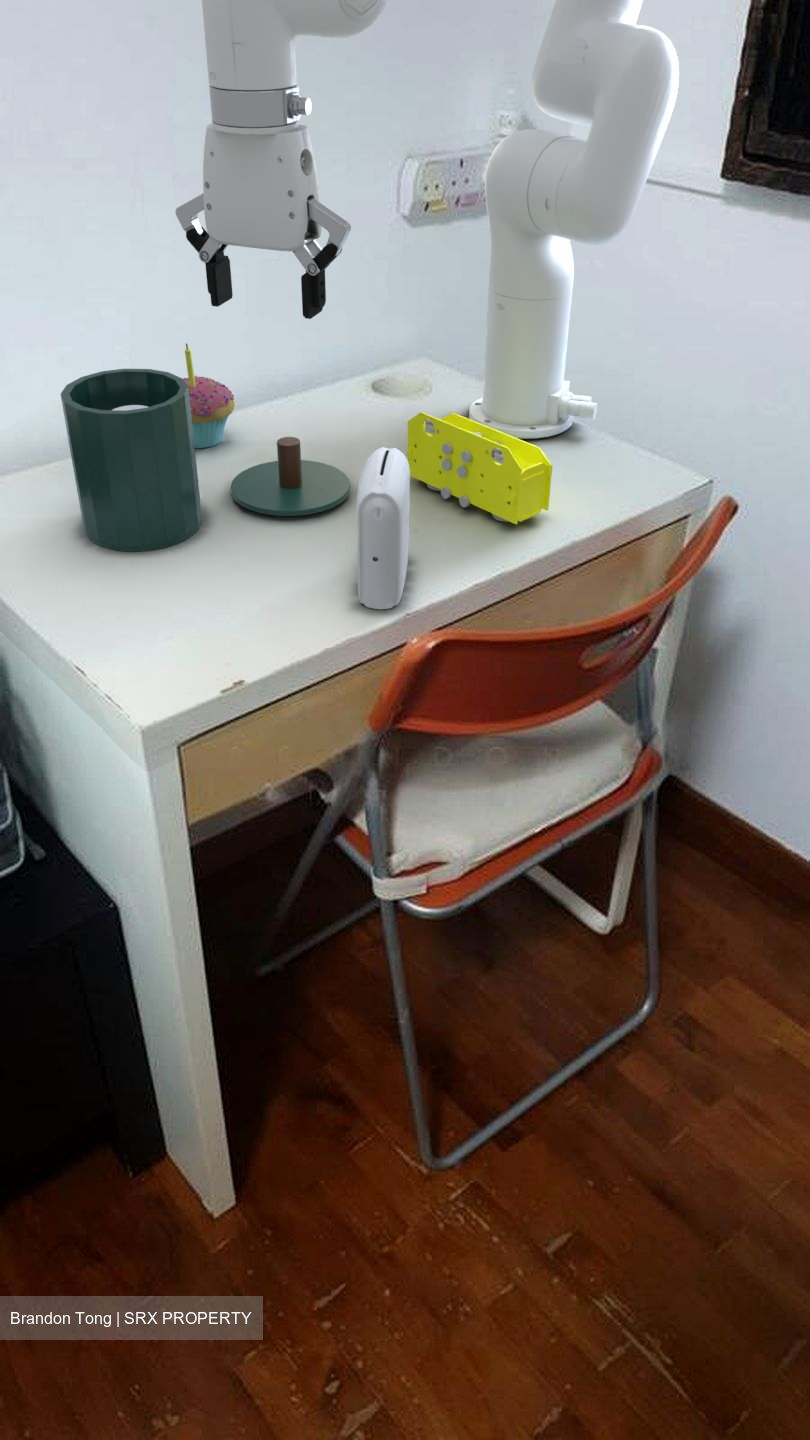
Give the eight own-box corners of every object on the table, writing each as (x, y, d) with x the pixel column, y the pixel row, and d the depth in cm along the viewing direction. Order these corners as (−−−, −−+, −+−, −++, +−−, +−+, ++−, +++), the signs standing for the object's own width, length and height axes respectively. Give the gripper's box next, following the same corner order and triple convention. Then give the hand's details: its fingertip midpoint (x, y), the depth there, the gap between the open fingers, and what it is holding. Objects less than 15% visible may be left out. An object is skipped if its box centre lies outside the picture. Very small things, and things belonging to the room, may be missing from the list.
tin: (209, 499, 121) (196, 369, 112) (191, 552, 111) (175, 414, 103) (99, 498, 121) (78, 367, 112) (72, 550, 111) (47, 412, 103)
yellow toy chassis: (403, 482, 125) (404, 408, 120) (441, 467, 128) (443, 395, 123) (512, 533, 115) (518, 455, 110) (549, 516, 119) (556, 439, 114)
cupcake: (231, 455, 130) (222, 350, 123) (156, 454, 130) (143, 349, 123) (241, 426, 137) (233, 325, 130) (170, 424, 137) (159, 323, 130)
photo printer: (401, 612, 103) (403, 485, 96) (354, 609, 103) (352, 482, 96) (411, 557, 111) (413, 436, 104) (367, 555, 111) (366, 434, 104)
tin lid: (353, 470, 127) (352, 418, 123) (347, 522, 117) (346, 467, 113) (239, 468, 127) (235, 417, 123) (224, 520, 117) (219, 465, 113)
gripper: (362, 108, 100) (365, 307, 110) (188, 95, 105) (206, 287, 115) (328, 123, 94) (334, 331, 105) (145, 108, 99) (168, 309, 109)
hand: (267, 308), depth 110 cm, fingers open, 9 cm apart
